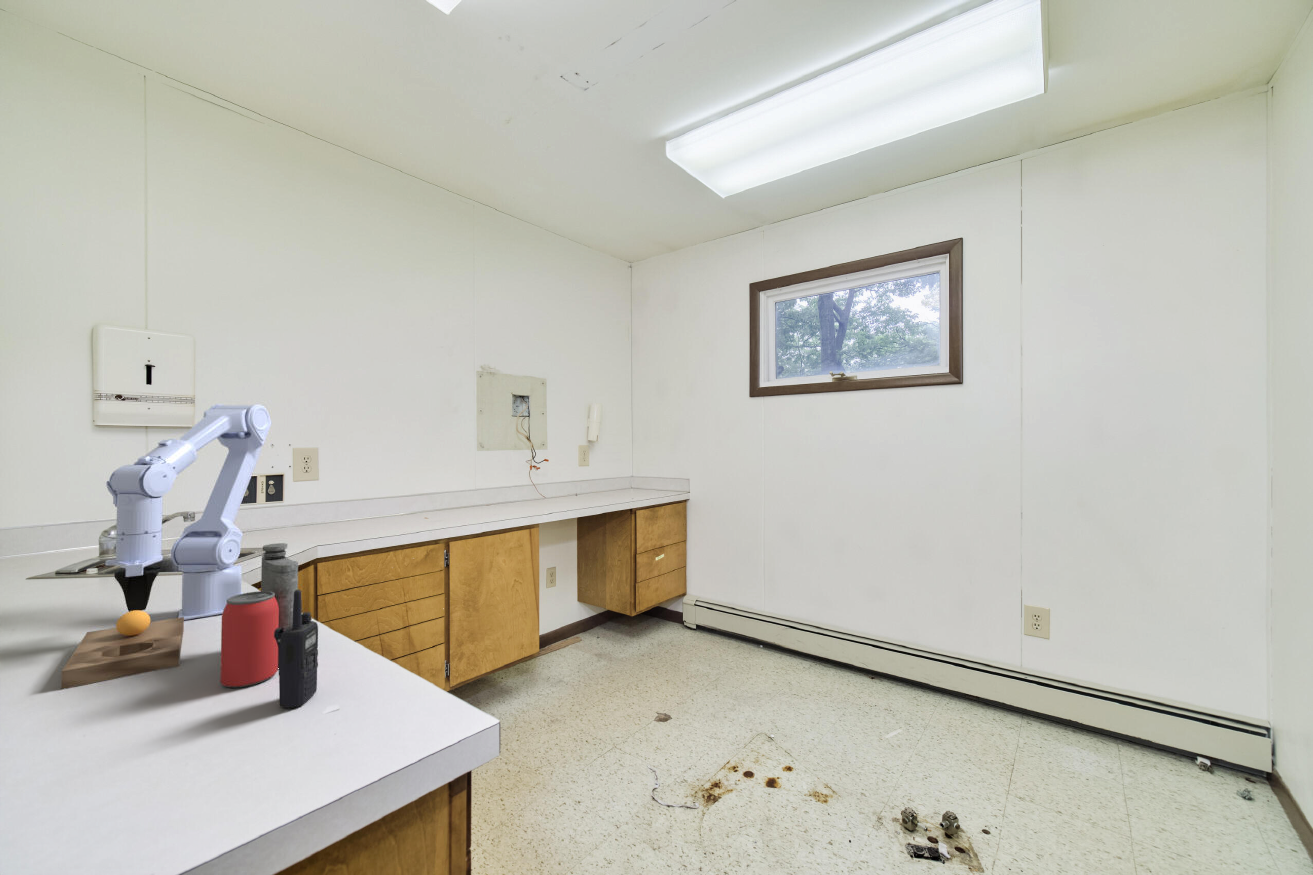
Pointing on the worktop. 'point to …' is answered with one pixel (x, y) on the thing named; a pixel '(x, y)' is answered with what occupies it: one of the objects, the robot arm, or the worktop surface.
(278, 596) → the flask
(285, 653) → the two-way radio
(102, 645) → the hole board
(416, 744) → the worktop surface
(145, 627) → the ball
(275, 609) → the beer can
